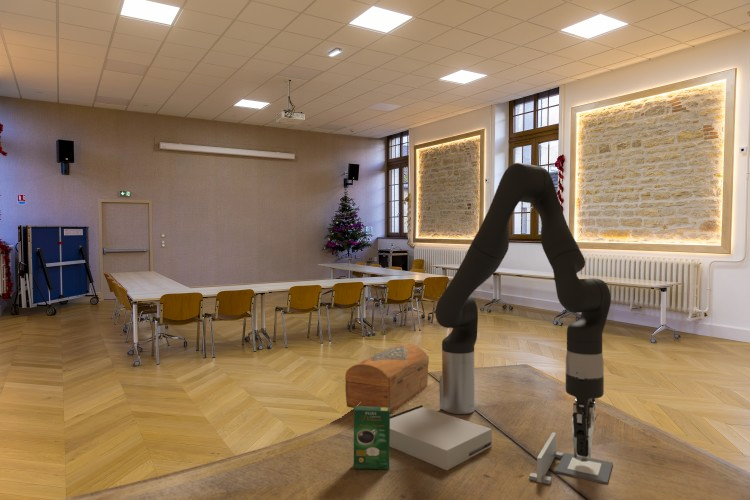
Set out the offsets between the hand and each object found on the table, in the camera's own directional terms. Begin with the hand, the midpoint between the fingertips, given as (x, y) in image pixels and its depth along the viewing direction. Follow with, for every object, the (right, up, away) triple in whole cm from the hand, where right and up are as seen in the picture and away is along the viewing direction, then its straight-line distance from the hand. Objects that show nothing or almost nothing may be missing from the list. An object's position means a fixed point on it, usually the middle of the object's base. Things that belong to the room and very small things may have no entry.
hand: (584, 450), depth 106 cm
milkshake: (0, -2, 0) cm, 2 cm away
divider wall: (-8, -4, +1) cm, 9 cm away
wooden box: (-41, -3, +50) cm, 65 cm away
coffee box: (-46, -5, +2) cm, 46 cm away
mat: (0, -4, 0) cm, 4 cm away
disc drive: (-31, -4, +14) cm, 34 cm away
